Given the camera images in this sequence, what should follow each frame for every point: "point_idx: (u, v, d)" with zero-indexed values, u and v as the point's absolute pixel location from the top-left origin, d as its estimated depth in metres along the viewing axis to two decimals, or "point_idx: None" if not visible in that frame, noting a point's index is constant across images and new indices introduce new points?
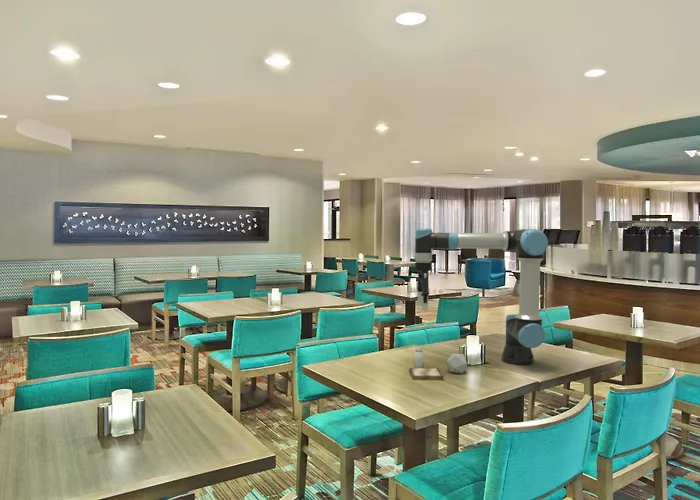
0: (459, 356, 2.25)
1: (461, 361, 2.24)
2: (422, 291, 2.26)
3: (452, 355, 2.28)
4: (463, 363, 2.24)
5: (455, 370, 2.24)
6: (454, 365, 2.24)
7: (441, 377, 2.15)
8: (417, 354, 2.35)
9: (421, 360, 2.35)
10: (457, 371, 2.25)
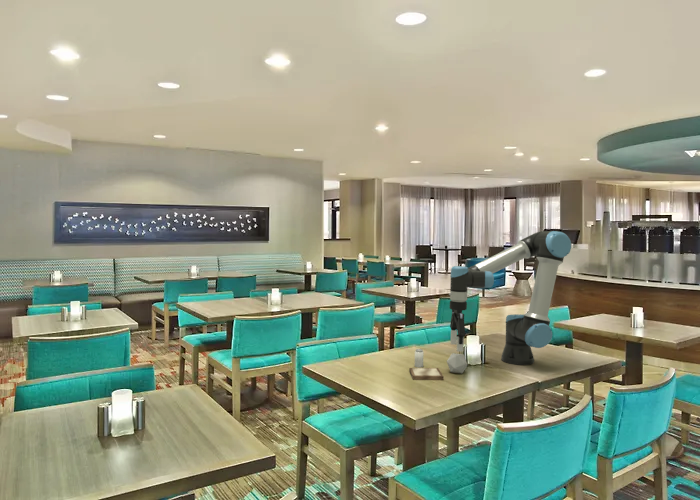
0: (459, 356, 2.25)
1: (461, 361, 2.24)
2: (458, 332, 2.20)
3: (452, 355, 2.28)
4: (463, 363, 2.24)
5: (455, 370, 2.24)
6: (454, 365, 2.24)
7: (441, 377, 2.15)
8: (417, 354, 2.35)
9: (421, 360, 2.35)
10: (457, 371, 2.25)
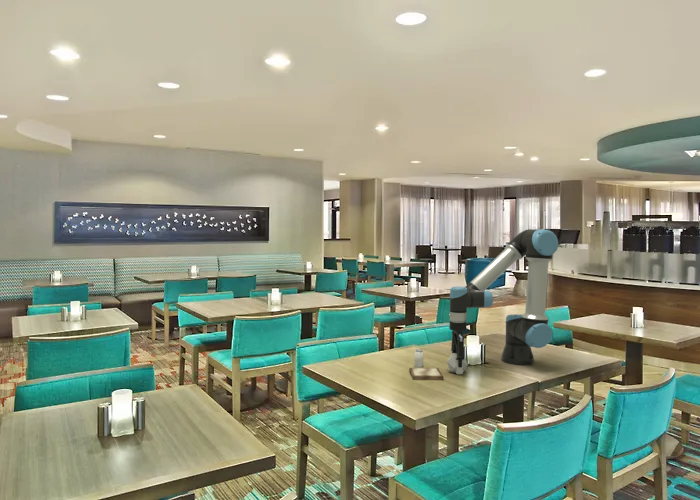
0: None
1: None
2: (457, 355, 2.22)
3: (452, 355, 2.28)
4: (463, 363, 2.23)
5: (455, 370, 2.24)
6: (453, 365, 2.24)
7: (441, 377, 2.15)
8: (417, 354, 2.35)
9: (421, 360, 2.35)
10: None
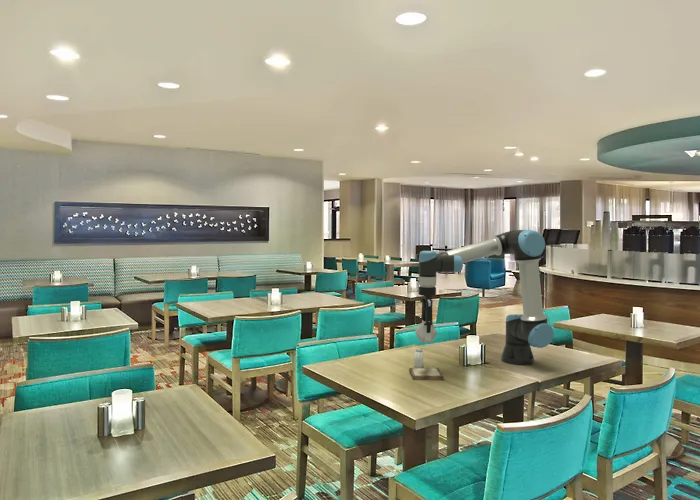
0: None
1: None
2: (425, 320, 2.16)
3: (420, 325, 2.21)
4: None
5: (423, 339, 2.18)
6: (421, 334, 2.17)
7: (441, 377, 2.15)
8: (417, 354, 2.35)
9: (421, 360, 2.35)
10: (426, 341, 2.18)
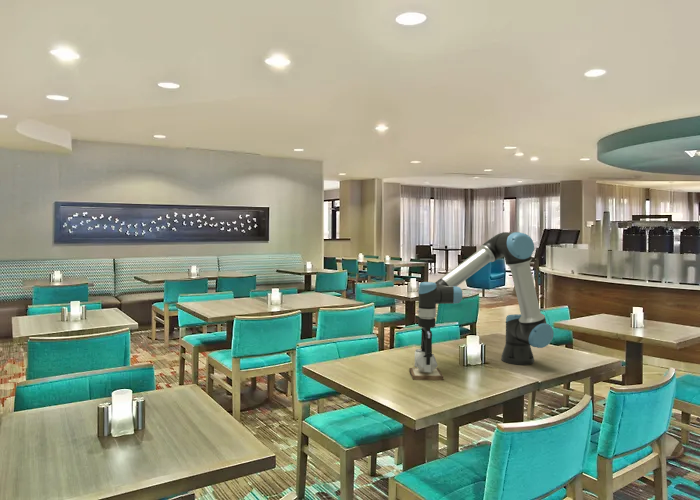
0: None
1: None
2: (425, 352, 2.16)
3: (421, 354, 2.21)
4: (431, 363, 2.17)
5: (423, 369, 2.18)
6: (421, 364, 2.18)
7: (441, 377, 2.15)
8: (417, 354, 2.35)
9: None
10: None
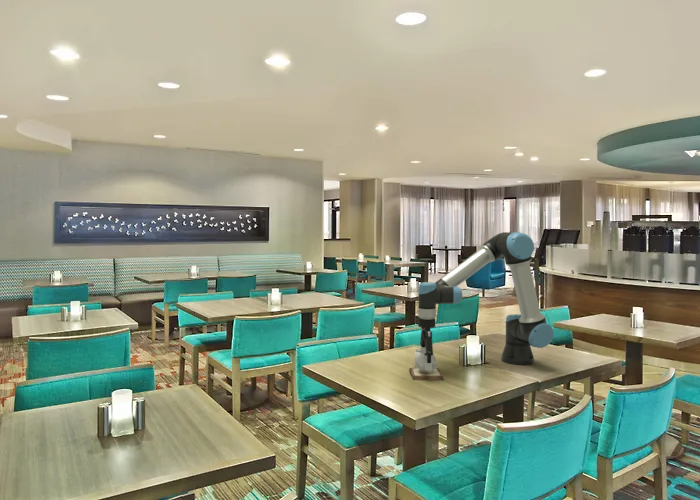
0: None
1: None
2: (426, 350, 2.14)
3: (421, 354, 2.22)
4: None
5: (423, 369, 2.18)
6: (421, 364, 2.18)
7: (441, 377, 2.15)
8: (417, 354, 2.35)
9: None
10: (425, 371, 2.19)
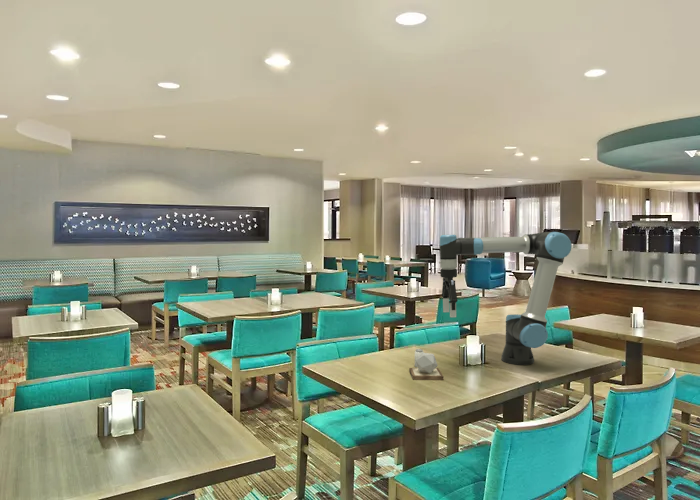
0: (428, 356, 2.19)
1: (429, 361, 2.17)
2: (450, 298, 2.24)
3: (421, 354, 2.22)
4: (431, 363, 2.17)
5: (423, 369, 2.18)
6: (421, 364, 2.18)
7: (441, 377, 2.15)
8: (417, 354, 2.35)
9: None
10: (425, 371, 2.19)
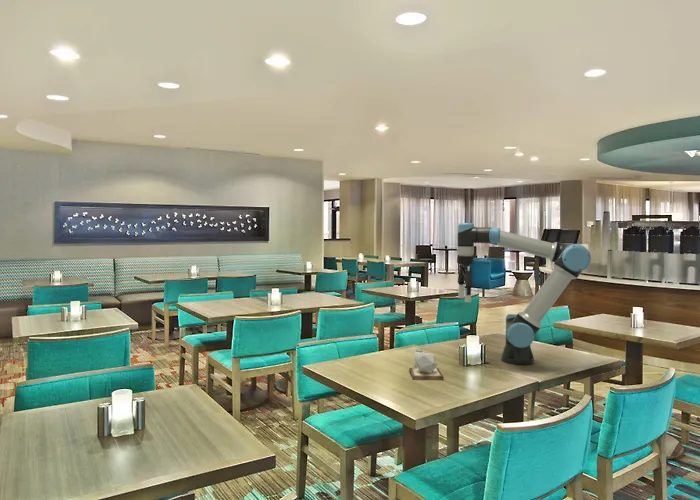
0: (428, 356, 2.19)
1: (429, 361, 2.17)
2: (465, 283, 2.33)
3: (421, 354, 2.22)
4: (431, 363, 2.17)
5: (423, 369, 2.18)
6: (421, 364, 2.18)
7: (441, 377, 2.15)
8: (417, 354, 2.35)
9: None
10: (425, 371, 2.19)
